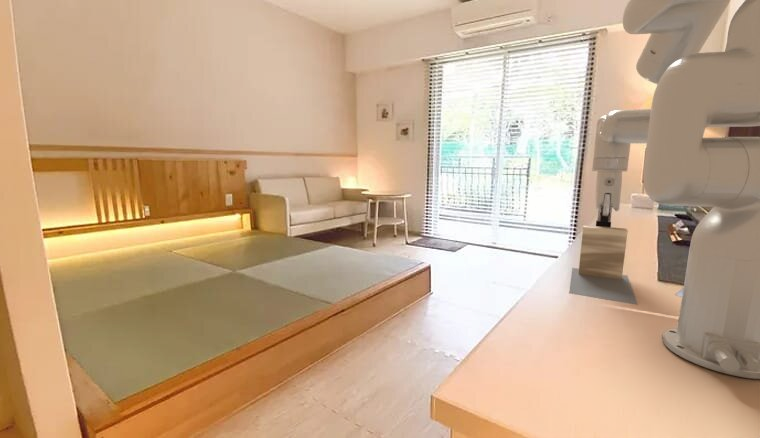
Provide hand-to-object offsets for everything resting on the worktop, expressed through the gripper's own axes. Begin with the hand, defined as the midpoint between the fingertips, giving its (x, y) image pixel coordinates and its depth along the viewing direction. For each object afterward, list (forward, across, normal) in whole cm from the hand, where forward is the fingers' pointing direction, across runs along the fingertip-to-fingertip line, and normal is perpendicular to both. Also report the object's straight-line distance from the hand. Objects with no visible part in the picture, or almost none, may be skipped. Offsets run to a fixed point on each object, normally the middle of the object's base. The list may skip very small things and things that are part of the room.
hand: (601, 236), depth 92 cm
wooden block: (+9, -7, 0) cm, 11 cm away
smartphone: (+10, -9, -19) cm, 23 cm away
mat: (+9, -14, 0) cm, 17 cm away
